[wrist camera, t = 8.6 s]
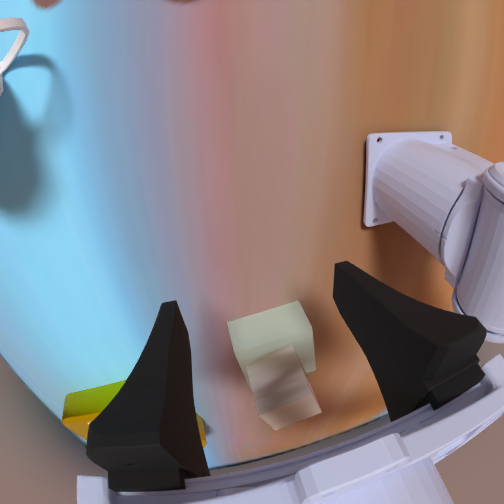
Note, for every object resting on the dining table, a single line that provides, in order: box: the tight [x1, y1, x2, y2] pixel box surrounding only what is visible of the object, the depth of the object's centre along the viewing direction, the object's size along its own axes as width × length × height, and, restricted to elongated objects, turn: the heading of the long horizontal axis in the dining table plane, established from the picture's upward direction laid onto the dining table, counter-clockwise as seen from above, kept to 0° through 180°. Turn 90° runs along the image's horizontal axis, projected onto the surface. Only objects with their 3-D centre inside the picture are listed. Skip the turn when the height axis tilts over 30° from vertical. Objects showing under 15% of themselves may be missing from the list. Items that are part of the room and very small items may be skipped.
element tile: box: [62, 380, 206, 447], centre depth 33 cm, size 15×15×5 cm
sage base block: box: [227, 300, 316, 391], centre depth 29 cm, size 7×7×4 cm
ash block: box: [245, 343, 322, 431], centre depth 25 cm, size 4×4×6 cm
